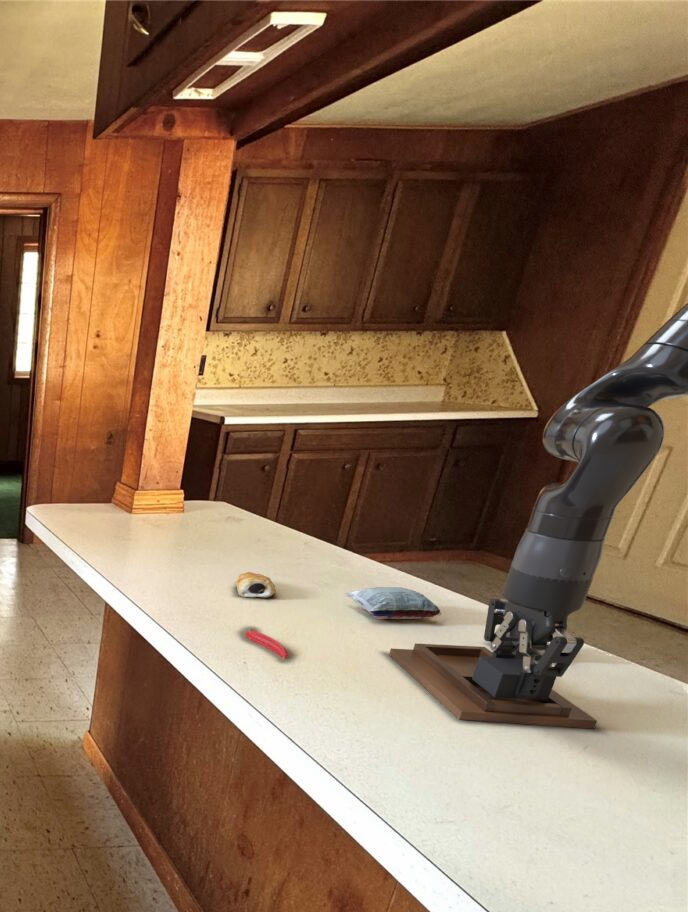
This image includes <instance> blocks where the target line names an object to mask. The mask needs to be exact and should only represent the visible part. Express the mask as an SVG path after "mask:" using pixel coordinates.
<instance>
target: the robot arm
mask: <svg viewBox="0 0 688 912" xmlns="http://www.w3.org/2000/svg"><path fill="white" fill-rule="evenodd" d="M684 397H688V302H687V303H686V304H685V305H683V306H682V307H681V308H680V309H679V310H677V311H676V312H675V313H674V314H673V315H672V316H671V317H670V318H668V320H667V321H666V322H664V324H663V325H662V326H661V327H660V328H658V330H656V331H655V332H654V334H653V335H651V336H650V337H649V338H648V339H647V340H646V341H645V342H644V343H643V344H642V345H641V346H640V347H639V348H638V349H637V350H636V351H635V352H634V353H633V354H632V356H631V357H629V358H627V360H625V361H623V362H622V363H620V364H619V365H617V366H615V367H613V368H612V369H611V370H609V371H607V372H605V374H603V375H602V376H600V377H599V378H598V379H596V380H595V381H593V382H592V383H590V384H589V385H587V386H586V387H584V388H583V389H582V390H580V391H579V392H577V393H576V394H574V395H573V396H572V397H570V398H569V399H567V401H566V402H564V403H563V404H562V405H561V406H560V407H558V409H557V410H556V411H554V413H553V414H552V415H551V416H550V419H548V421H547V423H546V424H545V427H544V429H543V431H542V432H543V433H542V444H543V447H544V448H545V451H547V452H548V453H549V454H550V455H552V456H554V457H556V458H559V459H561V460H565V461H570V462H575V463H577V466H576V467H575V469H574V470H573V472H572V473H571V475H570V476H569V478H568V479H567V480H566V481H559V482H553V483H549V484H547V485H545V486H544V487H543V488H542V489H541V490H540V491H539V493H538V495H537V497H536V498H535V501H534V504H533V507H532V510H531V513H530V516H529V519H528V522H527V525H526V528H525V530H524V532H523V535H522V536H521V538H520V540H519V543H518V544H517V547H516V550H515V553H514V555H513V558H512V561H511V564H510V568H509V570H508V573H507V576H506V580H505V582H504V585H503V588H502V591H501V595H502V597H503V598H491V599H489V602H488V608H487V615H486V621H485V626H484V627H485V628H484V633H483V640H484V641H486V642H490V649H491V650H490V651H491V652H493V654H492V658H512V659H514V658H515V656H516V655H515V654H513V653H512V652H516V651H517V649H518V648H519V652H520V654H522V655H523V667H522V670H523V671H521V672H520V676H519V678H518V681H517V684H516V687H515V689H514V692H513V695H514V696H516V697H517V698H519V699H534V698H535V697H536V696H537V695H538V693H539V690H540V688H541V686H542V683H543V680H544V678H545V677H546V676H554V677H556V678H561V677H563V676H564V674H565V673H566V672H567V670H568V669H569V668H570V666H571V664H572V663H573V661H574V660H575V658H576V657H577V655H578V654H579V652H580V651H581V649H582V648H583V647H584V644H585V640H584V639H583V638H582V637H579V636H578V637H577V636H572V635H571V634H570V633H569V632H568V631H567V630H568V618H569V616H570V615H571V614H573V613H575V612H578V611H580V610H581V609H582V608H583V607H584V603H585V602H586V598H587V596H588V593H589V590H590V588H591V586H592V583H593V581H594V577H595V575H596V572H597V570H598V568H599V565H600V563H601V561H602V560H601V559H602V557H603V553H604V546H605V542H606V538H607V536H608V534H609V531H610V528H611V526H612V523H613V521H614V518H615V516H616V512H617V509H618V506H619V505H620V504H621V502H622V501H623V500H624V499H625V498H626V496H628V494H629V493H630V492H631V491H632V489H633V488H634V487H635V485H637V483H638V482H639V480H640V479H641V478H642V476H643V475H644V474H645V472H646V471H647V470H648V469H649V467H650V466H651V465H652V463H653V462H654V461H655V459H656V458H657V456H658V455H659V453H660V451H661V450H662V447H663V444H664V441H665V436H666V426H665V422H664V419H663V417H662V416H661V415H660V414H659V412H657V410H655V409H653V408H651V407H652V406H653V405H655V404H657V403H660V402H662V401H666V400H671V399H678V398H684ZM497 625H498V626H499V627H498V628H497V629H496V626H497ZM545 645H546V647H545V649H542V650H540V649H532V648H531V646H545ZM535 656H541V658H540V660H537V663H536V665H534V662H535V660H534V658H535ZM553 664H554V666H553Z"/></svg>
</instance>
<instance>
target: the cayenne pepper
mask: <svg viewBox="0 0 688 912" xmlns="http://www.w3.org/2000/svg"><path fill="white" fill-rule="evenodd" d="M245 637H246V638H247V640H249V641H251V642H253V643H255V644H258V645H260V646H262V647H264V648H266V649H268V650H270V651H272V652H273V653H274V654H276V655H277V656H278V657H279V658H283V660H284V661H285V660H286V658H287V659H288V658H289V657H290V654H289V652H288V650H287V649H286V648H284V647H283V646H282V644H281V643H279V641H277V640H275V639H274V638H272V637H271V636H269V635H266V634H265V633H262V632H261V631H256V630H253V629H252V628H251V629H250V631H246V632H245Z"/></svg>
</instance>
